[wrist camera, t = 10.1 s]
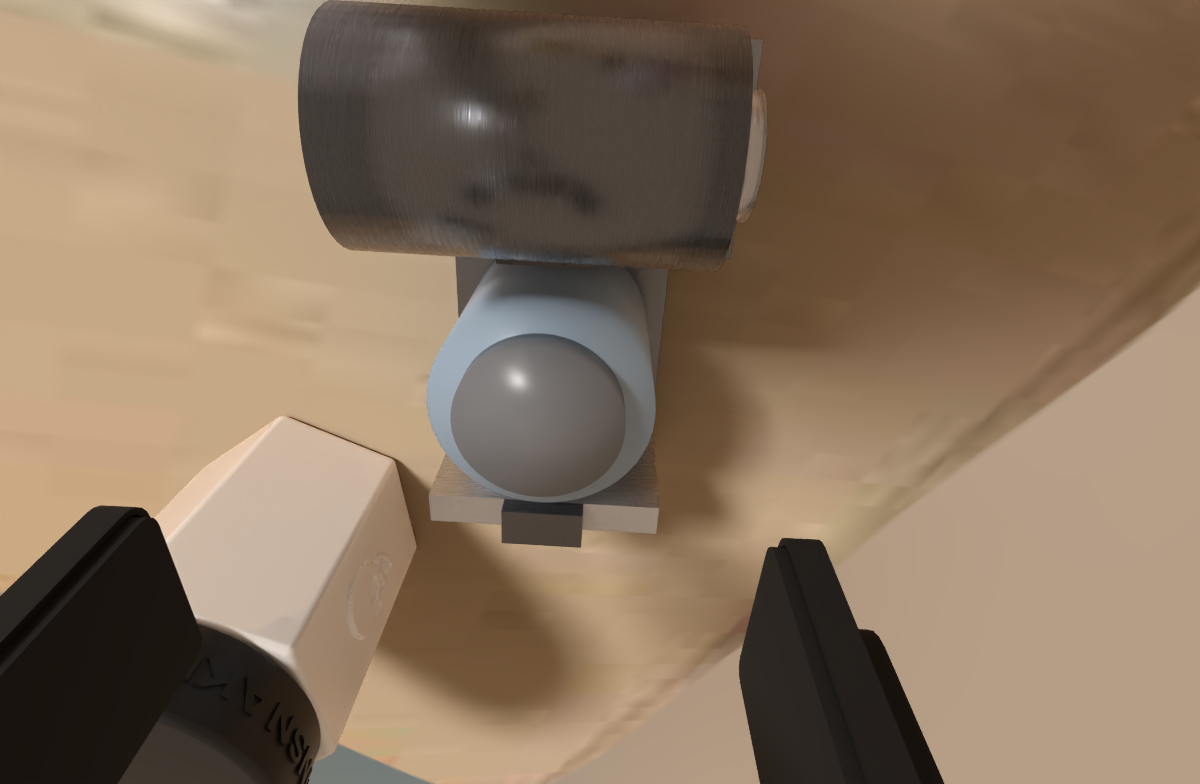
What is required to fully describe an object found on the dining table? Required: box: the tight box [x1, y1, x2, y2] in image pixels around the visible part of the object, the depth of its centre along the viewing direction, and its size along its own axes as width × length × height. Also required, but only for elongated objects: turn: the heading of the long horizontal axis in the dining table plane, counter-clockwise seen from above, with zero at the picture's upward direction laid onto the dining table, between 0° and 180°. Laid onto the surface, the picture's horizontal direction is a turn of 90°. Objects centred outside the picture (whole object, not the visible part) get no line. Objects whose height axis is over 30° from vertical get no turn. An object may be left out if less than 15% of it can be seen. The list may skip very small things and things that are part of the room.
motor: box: [298, 0, 768, 548], centre depth 17 cm, size 14×8×10 cm, turn 177°
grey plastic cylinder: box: [427, 261, 656, 502], centre depth 19 cm, size 6×6×7 cm
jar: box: [118, 416, 417, 784], centre depth 22 cm, size 9×8×12 cm
